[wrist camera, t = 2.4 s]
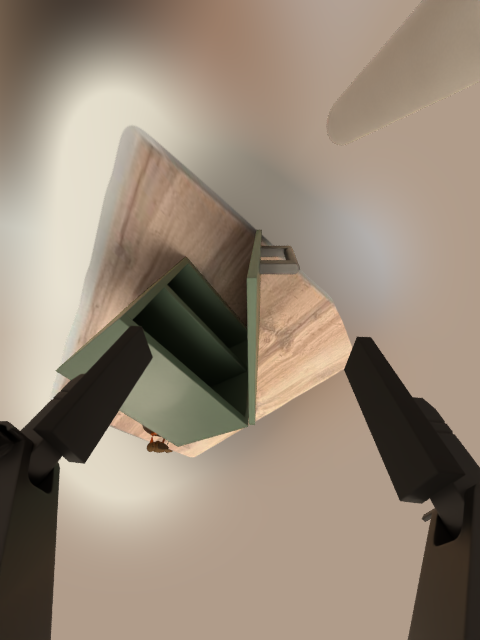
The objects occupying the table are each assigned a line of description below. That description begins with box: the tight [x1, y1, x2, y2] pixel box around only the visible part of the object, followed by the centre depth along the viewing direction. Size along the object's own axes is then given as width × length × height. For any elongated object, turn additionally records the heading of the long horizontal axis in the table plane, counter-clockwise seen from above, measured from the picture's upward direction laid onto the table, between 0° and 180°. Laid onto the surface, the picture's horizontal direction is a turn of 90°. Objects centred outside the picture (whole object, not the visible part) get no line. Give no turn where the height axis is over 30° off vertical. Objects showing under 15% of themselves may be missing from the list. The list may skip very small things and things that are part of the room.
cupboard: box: [56, 257, 249, 447], centre depth 43 cm, size 18×26×24 cm
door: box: [247, 230, 300, 425], centre depth 36 cm, size 7×26×24 cm, turn 2°
